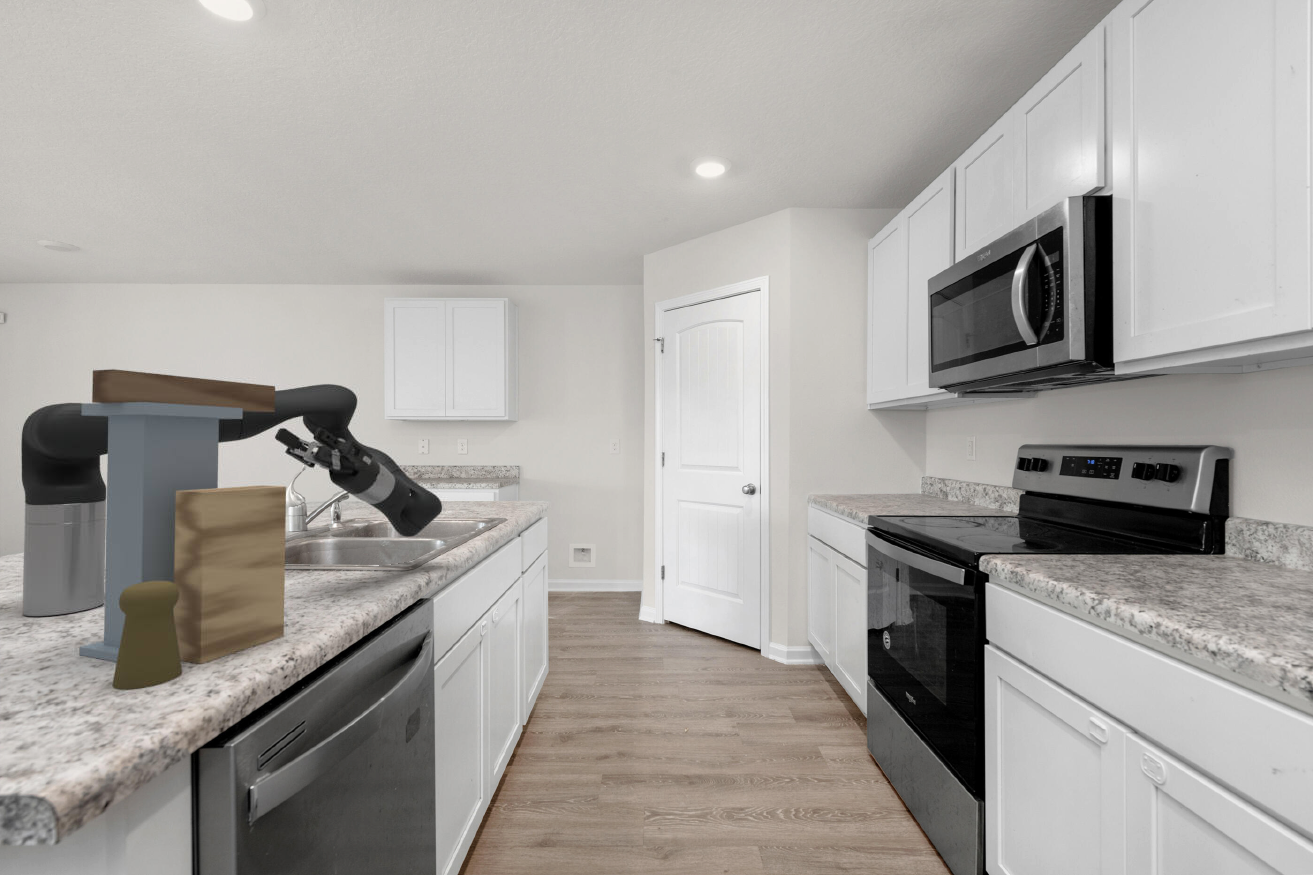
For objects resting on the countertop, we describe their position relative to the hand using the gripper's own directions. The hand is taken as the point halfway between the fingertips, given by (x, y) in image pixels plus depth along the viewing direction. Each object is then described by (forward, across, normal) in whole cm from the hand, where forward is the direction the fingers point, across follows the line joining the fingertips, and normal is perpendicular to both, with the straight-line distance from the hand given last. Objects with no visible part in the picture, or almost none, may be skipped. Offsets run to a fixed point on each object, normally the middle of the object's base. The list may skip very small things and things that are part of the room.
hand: (297, 432), depth 97 cm
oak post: (0, +10, +34) cm, 35 cm away
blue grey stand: (+3, 0, +35) cm, 35 cm away
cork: (+9, +11, +39) cm, 42 cm away
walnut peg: (+16, 0, +5) cm, 17 cm away
